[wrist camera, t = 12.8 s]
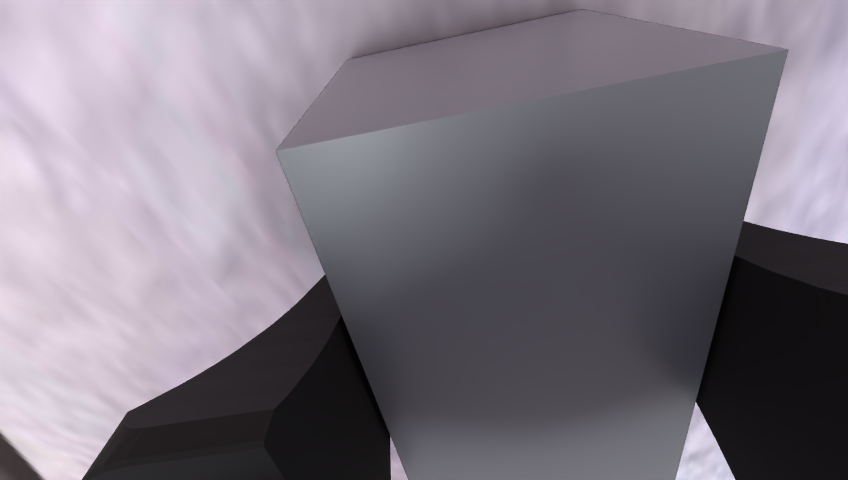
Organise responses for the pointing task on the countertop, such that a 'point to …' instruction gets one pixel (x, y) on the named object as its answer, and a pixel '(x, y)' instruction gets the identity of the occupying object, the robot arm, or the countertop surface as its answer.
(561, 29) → the grey rectangular block
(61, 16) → the countertop surface
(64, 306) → the countertop surface
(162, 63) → the countertop surface
